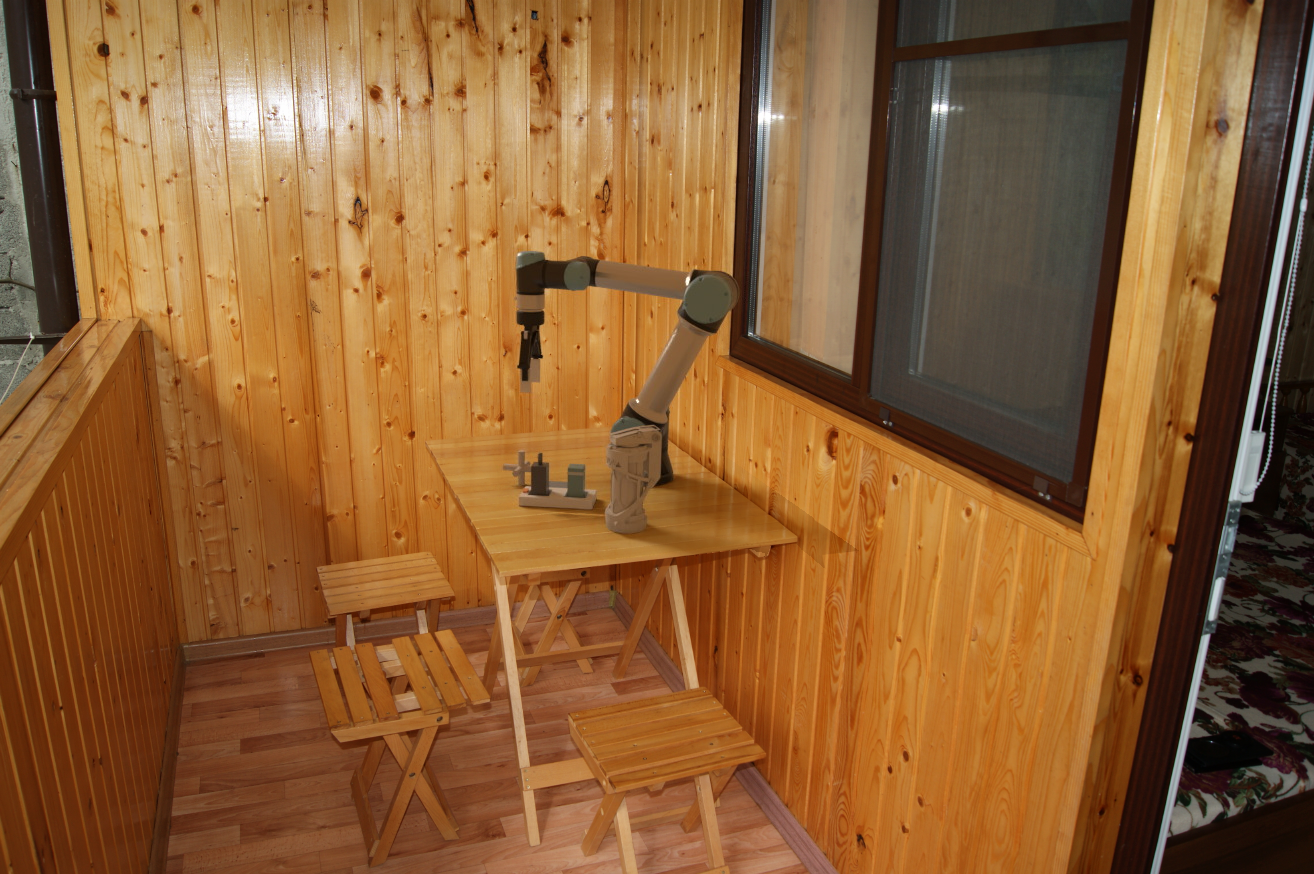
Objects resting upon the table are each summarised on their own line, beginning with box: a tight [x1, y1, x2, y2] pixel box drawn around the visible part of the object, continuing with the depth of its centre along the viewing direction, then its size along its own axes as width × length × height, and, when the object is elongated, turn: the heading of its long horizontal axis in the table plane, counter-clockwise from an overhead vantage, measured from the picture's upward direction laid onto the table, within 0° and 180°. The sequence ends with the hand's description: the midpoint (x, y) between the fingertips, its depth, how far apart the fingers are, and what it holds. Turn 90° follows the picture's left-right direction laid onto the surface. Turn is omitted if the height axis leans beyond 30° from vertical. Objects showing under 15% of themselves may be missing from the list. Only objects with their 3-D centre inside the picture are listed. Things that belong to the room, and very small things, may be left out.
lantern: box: [604, 425, 662, 534], centre depth 254 cm, size 13×10×25 cm
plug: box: [566, 463, 586, 498], centre depth 270 cm, size 4×4×10 cm
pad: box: [549, 480, 568, 488], centre depth 284 cm, size 10×10×1 cm
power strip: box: [518, 485, 598, 511], centre depth 271 cm, size 19×9×4 cm, turn 86°
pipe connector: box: [502, 449, 532, 486], centre depth 284 cm, size 10×10×10 cm
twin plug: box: [530, 452, 550, 496], centre depth 270 cm, size 4×4×13 cm
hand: (530, 387), depth 284 cm, fingers open, 13 cm apart
